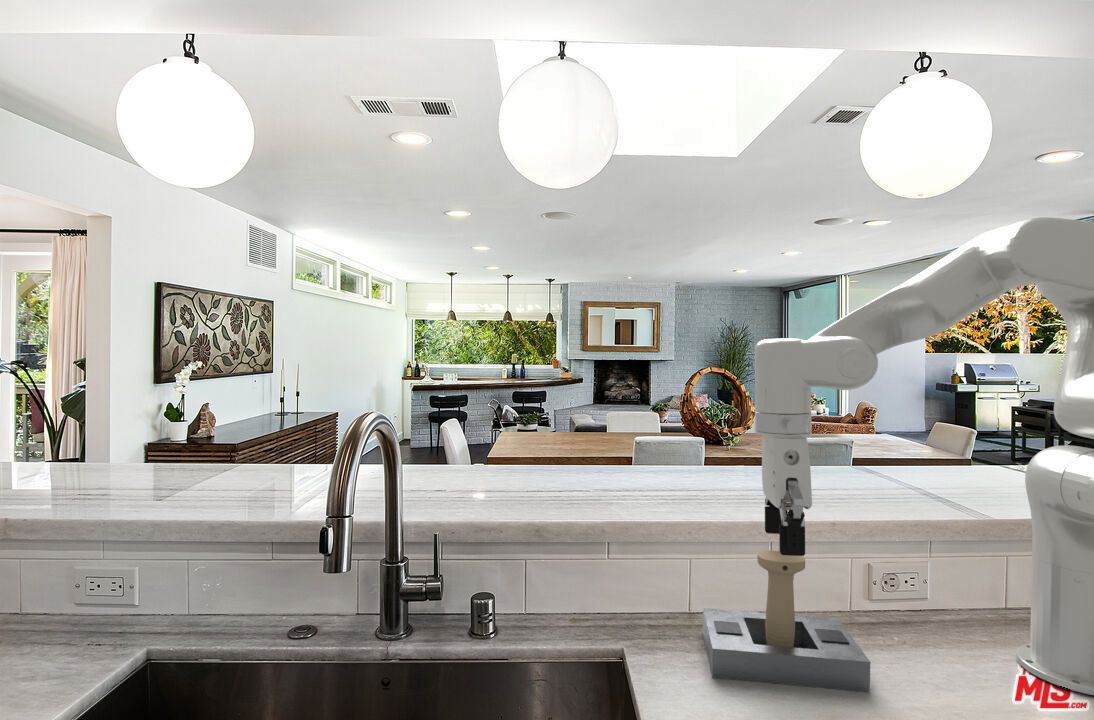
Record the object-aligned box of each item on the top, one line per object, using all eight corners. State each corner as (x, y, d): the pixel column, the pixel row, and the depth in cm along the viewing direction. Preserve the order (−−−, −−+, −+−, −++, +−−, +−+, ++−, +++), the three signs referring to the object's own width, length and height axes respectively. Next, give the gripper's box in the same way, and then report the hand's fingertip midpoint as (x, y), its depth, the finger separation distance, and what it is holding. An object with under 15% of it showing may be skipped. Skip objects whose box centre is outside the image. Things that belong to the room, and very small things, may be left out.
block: (837, 644, 91) (838, 616, 91) (869, 692, 78) (870, 660, 78) (702, 633, 94) (702, 606, 94) (712, 677, 81) (712, 646, 81)
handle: (807, 671, 83) (809, 563, 83) (759, 666, 84) (761, 560, 84) (798, 653, 88) (799, 552, 88) (753, 650, 89) (754, 549, 89)
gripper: (829, 433, 76) (830, 566, 77) (795, 418, 93) (795, 526, 94) (768, 432, 77) (769, 563, 78) (745, 417, 95) (746, 525, 95)
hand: (783, 543), depth 86 cm, fingers open, 9 cm apart
